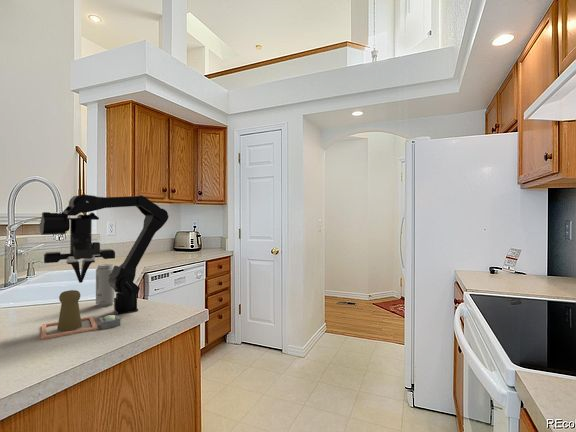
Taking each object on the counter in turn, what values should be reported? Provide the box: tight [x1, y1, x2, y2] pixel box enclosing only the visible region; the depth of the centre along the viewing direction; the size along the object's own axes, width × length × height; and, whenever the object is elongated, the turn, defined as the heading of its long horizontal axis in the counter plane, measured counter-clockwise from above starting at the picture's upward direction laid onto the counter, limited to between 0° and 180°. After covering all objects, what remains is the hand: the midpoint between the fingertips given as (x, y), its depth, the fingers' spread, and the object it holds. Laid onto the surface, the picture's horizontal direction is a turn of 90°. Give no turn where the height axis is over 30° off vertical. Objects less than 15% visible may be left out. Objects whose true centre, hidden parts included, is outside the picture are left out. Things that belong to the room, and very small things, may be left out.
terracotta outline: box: [40, 315, 98, 341], centre depth 94 cm, size 13×13×1 cm
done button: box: [104, 314, 115, 321], centre depth 96 cm, size 3×3×2 cm
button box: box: [98, 314, 121, 330], centre depth 96 cm, size 5×5×2 cm
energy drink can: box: [95, 263, 115, 307], centre depth 119 cm, size 6×6×15 cm
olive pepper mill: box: [56, 289, 83, 332], centre depth 94 cm, size 6×6×11 cm
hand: (80, 282), depth 101 cm, fingers closed
